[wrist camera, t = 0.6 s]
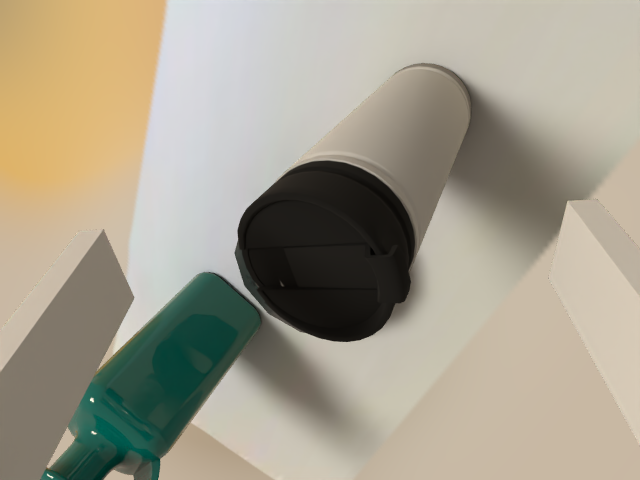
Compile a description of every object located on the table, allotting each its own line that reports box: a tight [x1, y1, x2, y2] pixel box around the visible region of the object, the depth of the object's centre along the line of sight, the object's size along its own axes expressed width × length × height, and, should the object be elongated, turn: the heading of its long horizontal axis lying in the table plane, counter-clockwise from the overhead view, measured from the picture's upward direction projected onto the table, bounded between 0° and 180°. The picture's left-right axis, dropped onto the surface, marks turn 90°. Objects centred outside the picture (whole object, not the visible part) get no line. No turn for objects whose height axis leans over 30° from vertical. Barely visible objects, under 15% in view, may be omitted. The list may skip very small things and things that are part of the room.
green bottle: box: [40, 272, 261, 480], centre depth 41 cm, size 10×8×22 cm
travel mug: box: [237, 63, 472, 342], centre depth 23 cm, size 6×7×20 cm
